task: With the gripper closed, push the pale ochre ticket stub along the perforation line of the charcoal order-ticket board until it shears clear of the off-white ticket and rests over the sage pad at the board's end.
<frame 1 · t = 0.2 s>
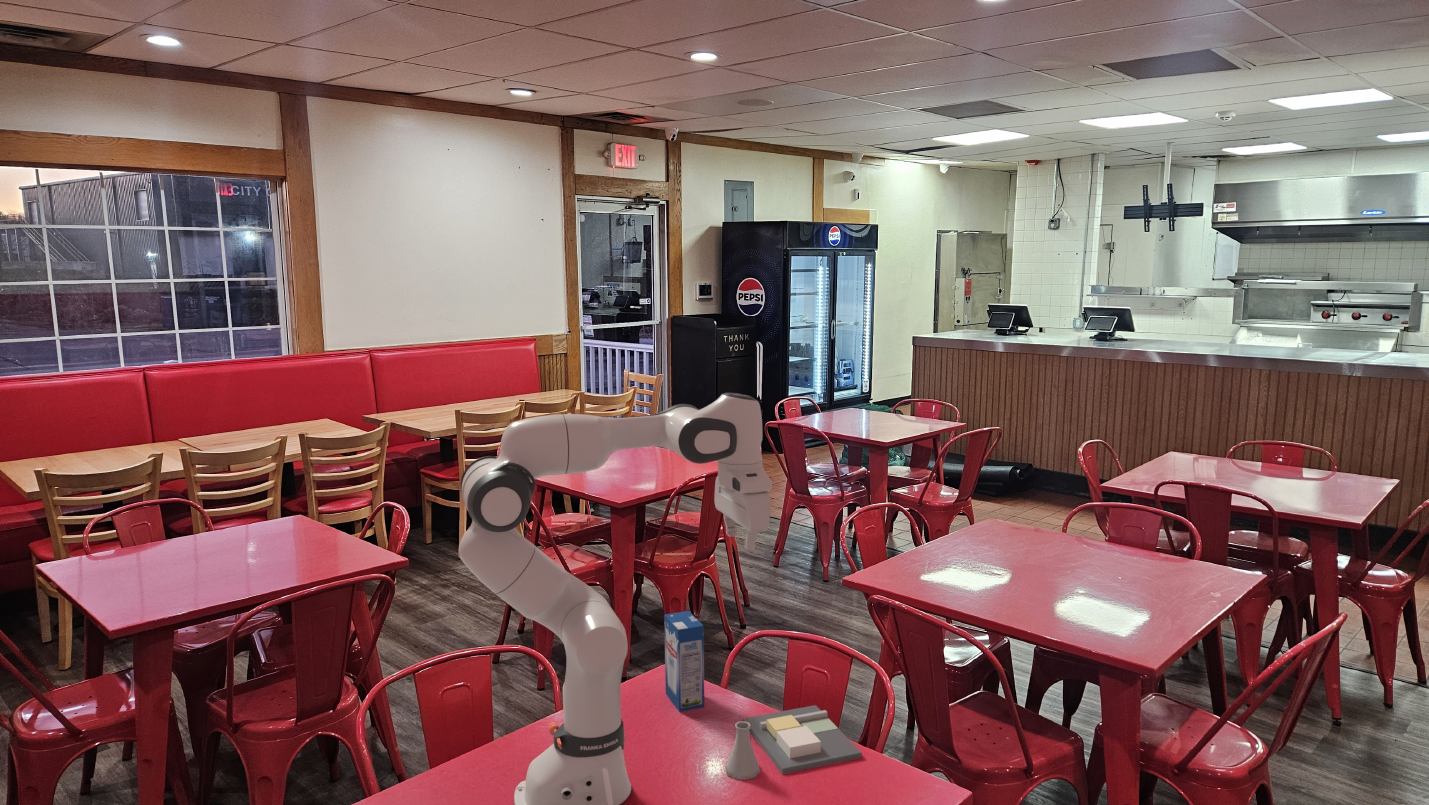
hand: (740, 542, 182), 47 cm above the table, fingers open, 8 cm apart
milk carton: (684, 701, 216), on the table
stub: (783, 726, 198), point 3 cm above the table, slide at 0.0 cm
flask: (742, 771, 185), on the table
ticket board: (800, 740, 197), on the table
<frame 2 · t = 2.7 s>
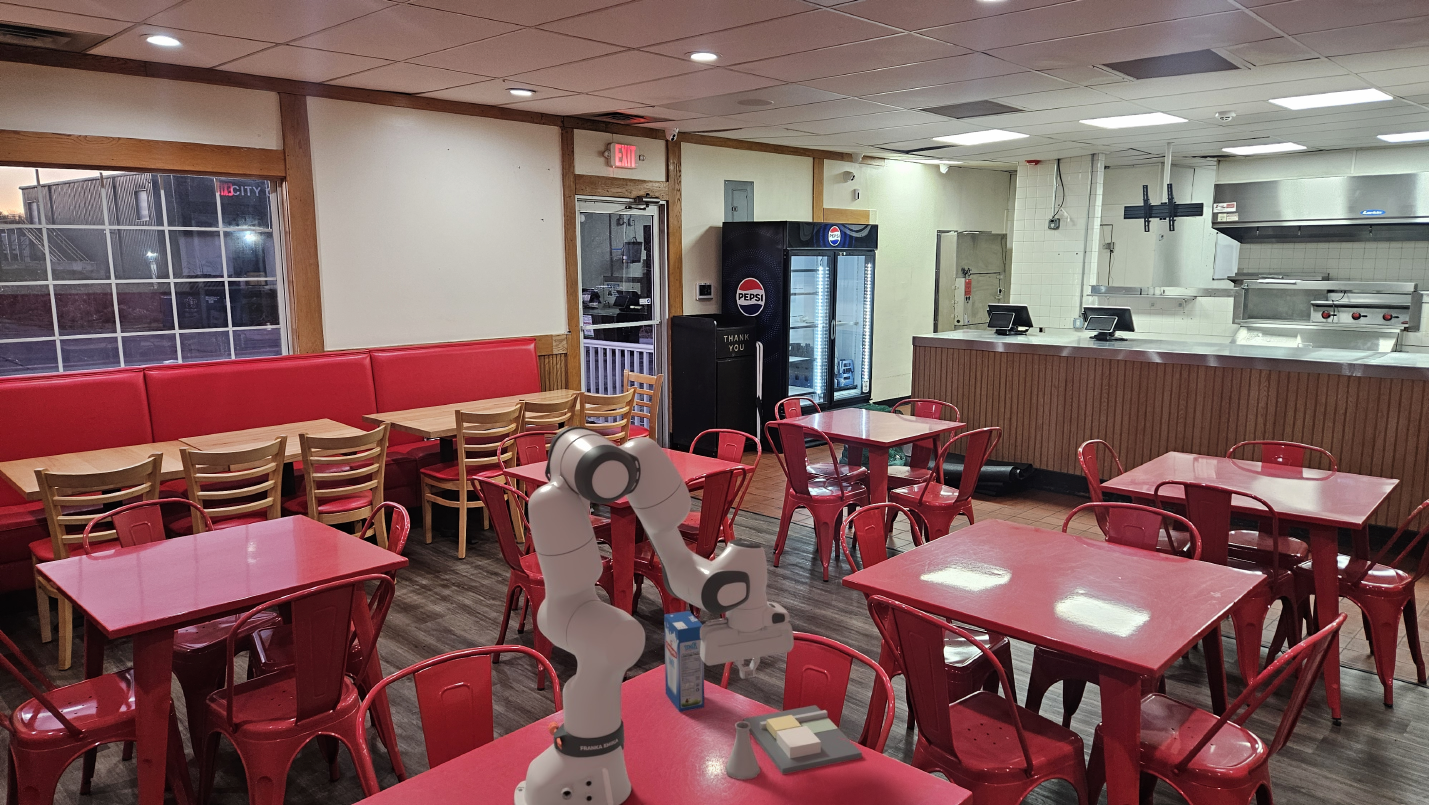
hand: (747, 676, 194), 15 cm above the table, fingers closed
nothing on the table moved.
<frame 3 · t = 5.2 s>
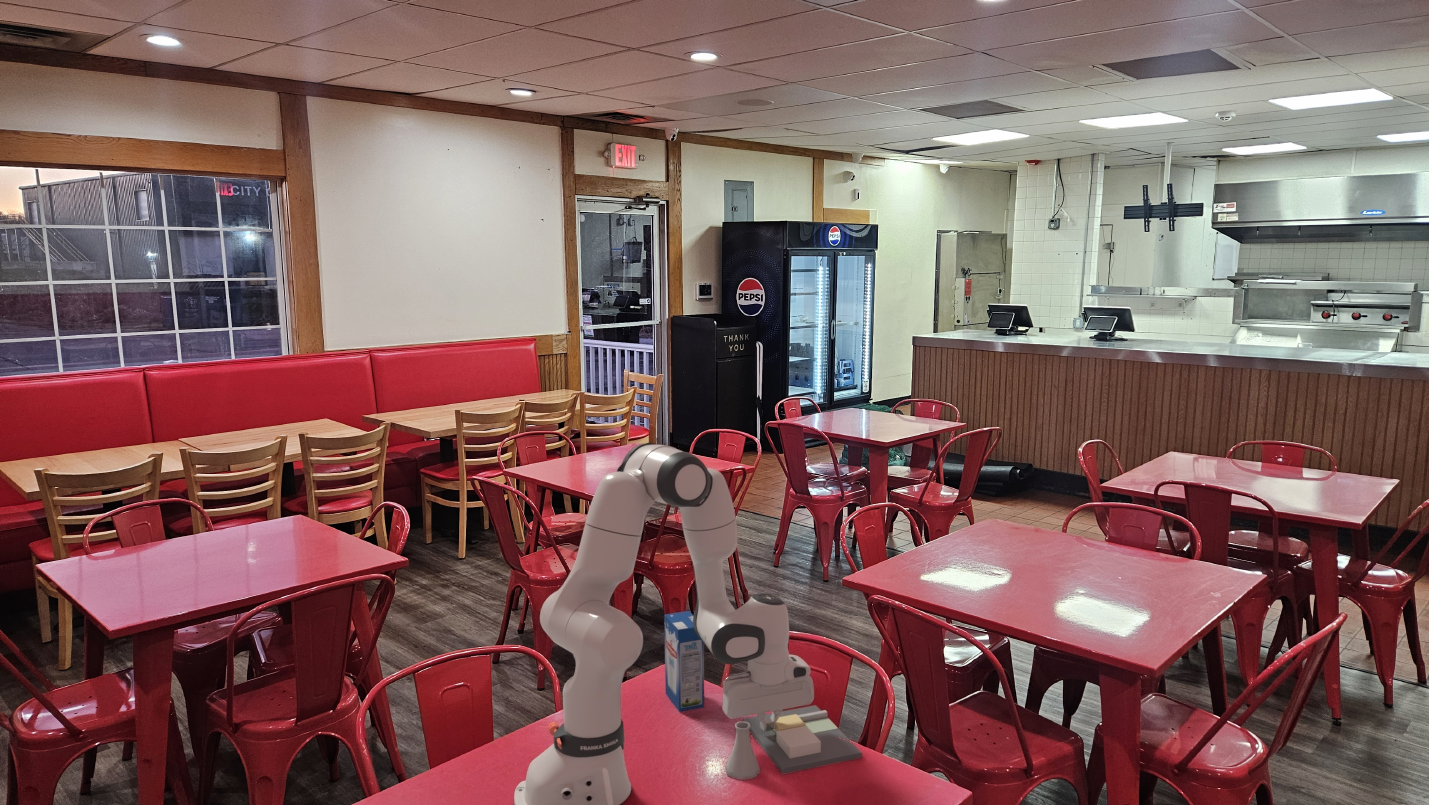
hand: (768, 728, 197), 3 cm above the table, fingers closed
stub: (788, 726, 198), point 3 cm above the table, slide at 1.1 cm, touching gripper
everything else where it was.
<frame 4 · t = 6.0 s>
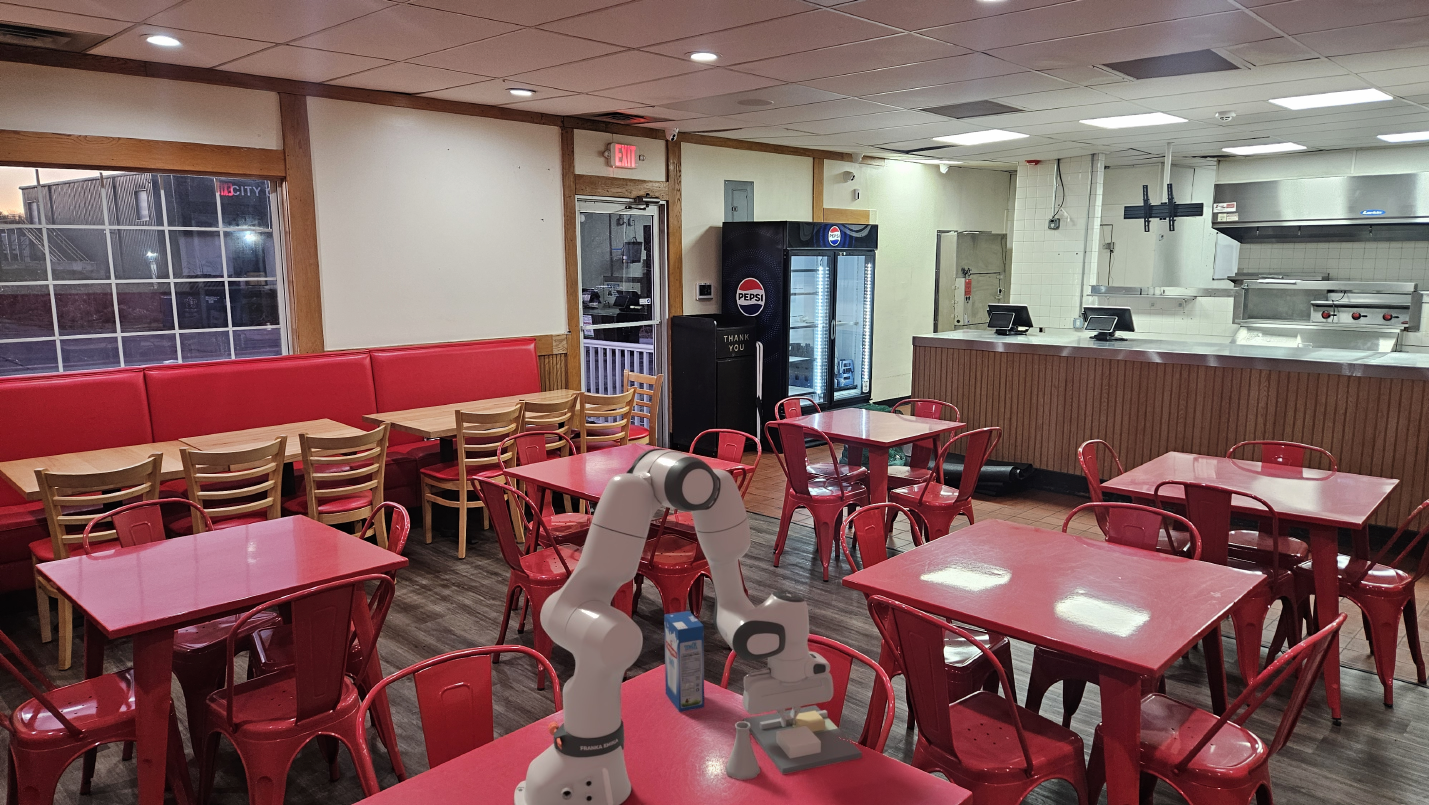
hand: (788, 724, 199), 3 cm above the table, fingers closed
stub: (807, 722, 200), point 3 cm above the table, slide at 5.8 cm, touching gripper
everything else where it was.
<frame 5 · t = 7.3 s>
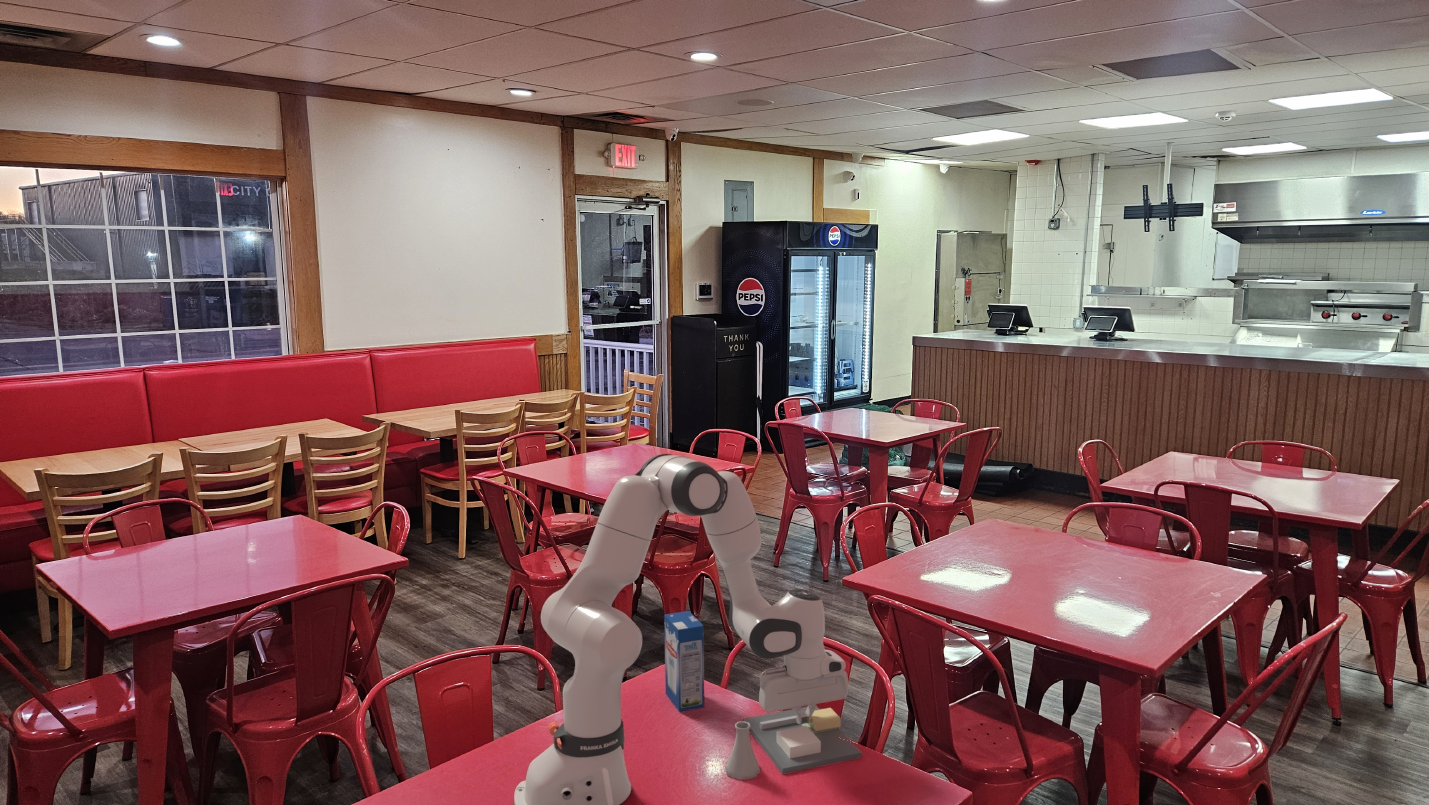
hand: (803, 722, 200), 2 cm above the table, fingers closed
stub: (823, 719, 201), point 3 cm above the table, slide at 9.5 cm, touching gripper
everything else where it was.
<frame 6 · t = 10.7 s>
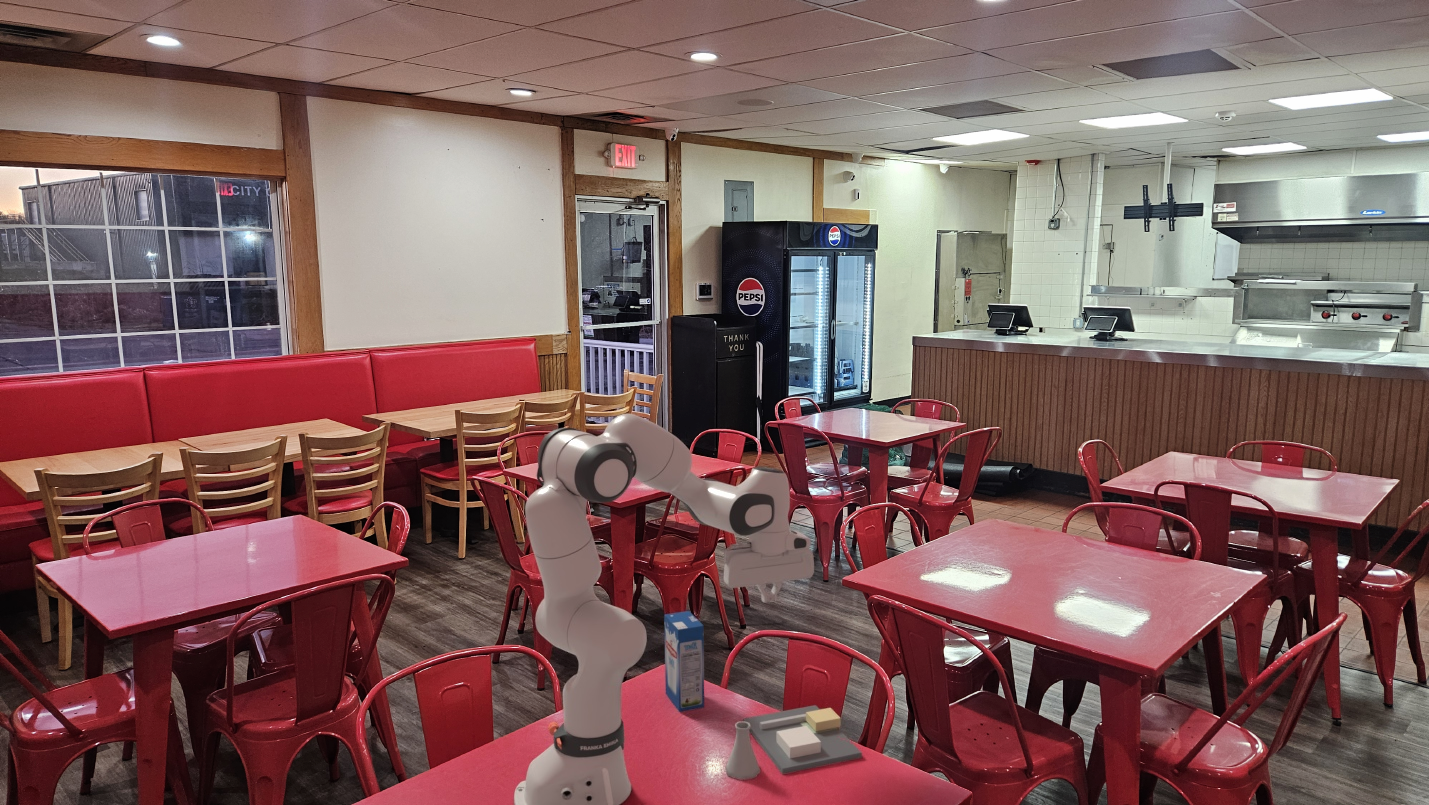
hand: (769, 601, 199), 29 cm above the table, fingers closed
stub: (823, 719, 201), point 3 cm above the table, slide at 9.5 cm
everything else where it was.
at the end: stub slide at 9.5 cm; the gripper is holding nothing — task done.
